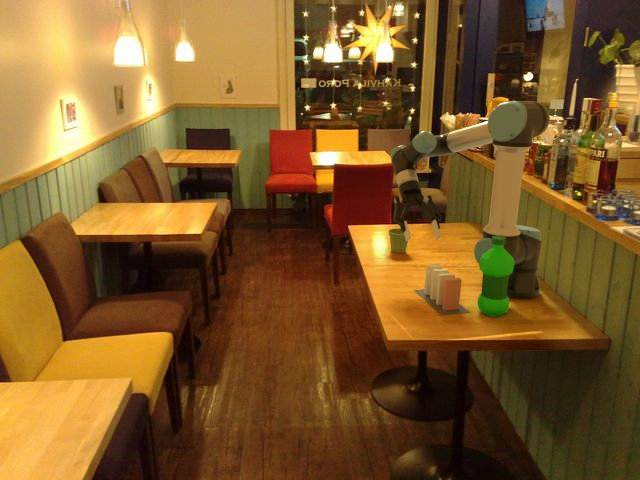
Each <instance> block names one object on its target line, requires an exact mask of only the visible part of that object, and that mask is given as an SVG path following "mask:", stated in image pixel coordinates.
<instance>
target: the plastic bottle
mask: <svg viewBox="0 0 640 480" xmlns="http://www.w3.org/2000/svg"><path fill="white" fill-rule="evenodd" d="M492 244H493V248H491V249H490V250H488V251H487V252H485V253H484V254H482V256H481V258H480V264H479V263H478V266H479V270H480V272H481V273H482V280H481V281H482V282H481V290H480V291H481V293H480V294H479V296H478V298H477V307H478V309H479V311H481V312H482V313H483V314H484V315H486V316H490V317H500V316H502V315H504V314H506V313H507V312H508V310H509V308H510V297H508V296H507V288H508V278H509V275H510V274H511V273H512V272H513V269H514V259H513V257H512V256H511V255H510V254H509V253H508V252H507V251H506V250H505V249H504V245H506V237H504V236H492Z"/></svg>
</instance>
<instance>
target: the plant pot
mask: <svg viewBox="0 0 640 480" xmlns="http://www.w3.org/2000/svg"><path fill="white" fill-rule="evenodd" d="M387 232H388V235H389V244H390V252H392V253H395V254H403V253H407V249H408V247H407V246H408V242H409V241H406V238H405V235H404V232H402V231H401V228H390V229H388V230H387ZM409 232H410V235H412V231H411V230H409Z"/></svg>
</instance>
